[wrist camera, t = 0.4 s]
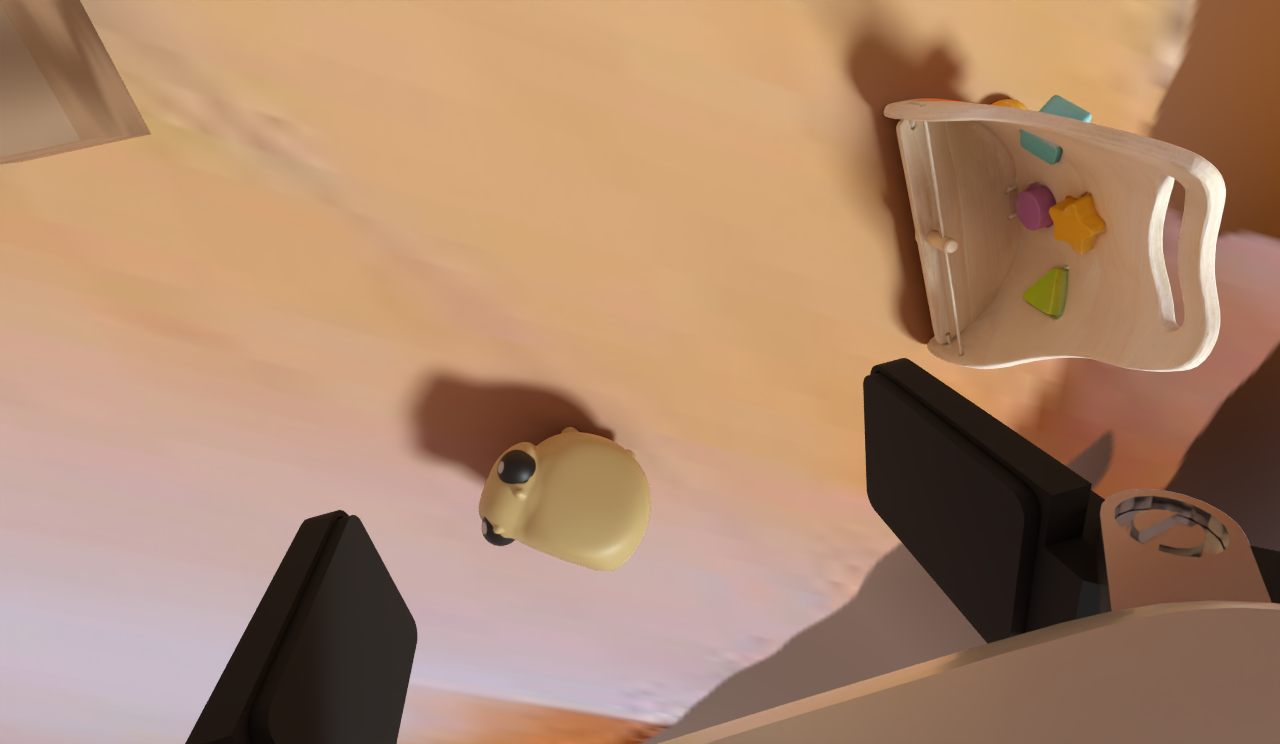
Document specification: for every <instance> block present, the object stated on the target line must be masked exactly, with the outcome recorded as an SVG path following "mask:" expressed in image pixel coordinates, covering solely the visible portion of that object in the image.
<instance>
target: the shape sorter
mask: <svg viewBox="0 0 1280 744" xmlns="http://www.w3.org/2000/svg"><path fill="white" fill-rule="evenodd" d="M884 116H886V117H888V118H894V119H902V120H900V121H899V122H898V124H897V127H896V132H897V137H898V143H899V148H900V153H901V159H902V163H903V169H904V174H905V179H906V184H907V189H908V194H909V200H910V205H911V211H912V216H913V221H914V226H915V232H916V233H915V240H916V241H917V244H918V249H919V254H920V260H921V265H922V271H923V276H924V282H925V287H926V293H927V298H928V304H929V309H930V315H931V320H932V326H933V331H934V335H935V336H934V337H933V338H931V339H930V341H929V342H928V344H927V348H928V350H929V351H930V352H931V353H932V354H933V355H935V356H936V357H938V358H940V359H942V360H944V361H947V362H950V363H953V364H956V365H960V366H965V367H970V368H976V369H993V368H1002V367H1008V366H1013V365H1017V364H1021V363H1026V362H1031V361H1037V360H1043V359H1051V358H1066V357H1077V358H1089V359H1094V360H1098V361H1102V362H1105V363H1108V364H1112V365H1115V366H1119V367H1123V368H1128V369H1136V370H1144V371H1156V372H1169V371H1183V370H1189V369H1192V368H1194V367H1197V366H1198V365H1200V364H1201V363H1202V362H1203V361H1204V360H1205V359H1206V358H1207V357H1208V355H1209V354H1210V353H1211V351H1212V349H1213V347H1214V345H1215V343H1216V340H1217V338H1218V334H1219V329H1220V308H1219V301H1218V295H1217V289H1216V281H1215V266H1214V265H1215V249H1216V241H1217V236H1218V231H1219V226H1220V222H1221V217H1222V213H1223V208H1224V203H1225V196H1226V188H1225V183H1224V180H1223V178H1222V176H1221V174H1220V173H1219V171H1218V170H1217V169H1216V168H1215V167H1214V166H1213V165H1212V164H1211V163H1210V162H1208V161H1207V160H1206V159H1204V158H1203V157H1201V156H1200V155H1198V154H1196V153H1194V152H1191V151H1189V150H1186V149H1184V148H1181V147H1178V146H1175V145H1172V144H1169V143H1166V142H1163V141H1160V140H1156V139H1153V138H1149V137H1146V136H1142V135H1138V134H1134V133H1130V132H1126V131H1122V130H1118V129H1114V128H1109V127H1105V126H1100V125H1096V124H1092V123H1090V120H1091V117H1092V115H1091V114H1090V113H1089V112H1087V111H1085V110H1084V109H1082V108H1080V107H1078V106H1076V105H1075V104H1073V103H1071V102H1069V101H1067V100H1066V99H1064V98H1062V97H1060V96H1058V95H1054V96H1053V97H1052V98H1051V99H1050V100H1049V101H1048V102H1047V103H1046V104H1045V105H1044V106H1043V107H1042V109H1041V110H1040V111H1039V112H1037V111H1031V110H1028V108H1027V107H1026V106H1025V105H1024V104H1022V103H1021V102H1019V101H1017V100H1013V99H1004V100H999V101H997V102H995V103H992V104H991V105H988V104H979V103H970V102H962V101H954V100H945V99H933V98H923V99H912V100H906V101H900V102H894V103H891V104H888V105H887V106H886V107H885V109H884ZM1174 179H1176V180H1177V181H1179V182H1180V183H1181V184H1182V185H1183V187H1184V188H1185V191H1186V196H1185V209H1184V214H1183V219H1182V224H1181V230H1180V235H1179V241H1178V273H1179V281H1180V286H1181V291H1182V296H1183V303H1184V310H1185V319H1184V323H1183V325H1182V326H1181V327H1179V326H1178V325H1177V324H1176V321H1175V315H1174V305H1173V299H1172V293H1171V287H1170V283H1169V279H1168V275H1167V271H1166V267H1165V262H1164V256H1163V244H1162V237H1163V225H1164V219H1165V214H1166V210H1167V206H1168V202H1169V198H1170V195H1171V191H1172V188H1173V184H1174Z"/></svg>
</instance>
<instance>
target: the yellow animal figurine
mask: <svg viewBox="0 0 1280 744" xmlns="http://www.w3.org/2000/svg"><path fill="white" fill-rule="evenodd" d="M650 509H651V495H650V488H649V484H648V481H647V478H646V476H645V473H644V471H643V470H642V468H641V466H640V465H639V463H638V462H637V461H636V456H635V454H634V453H633V452H632V451H631V450H625V449H624V448H623V447H621V446H620V445H618V444H617V443H615V442H613V441H611V440H609V439H607V438H604V437H602V436H598V435H594V434H589V433H582V432H578V431H577V430H576V429H575V428H573V427H567V428H565V429H563V430H562V432H561V434H557V435H554V436H552V437H549V438H547V439H545V440H544V441H542V442H541V443H539V444H538V445H537V446H535V445H533V444H532V443H530V442H521V443H518V444H516V445H514V446H512V447H510V448H509V449H507V450H506V451H505V452H504V453H503V454H502V455H501V456H500V457H499V458H498V459H497V461H496V462H495V464H494V466H493V468H492V470H491V472H490V474H489V476H488V478H487V481H486V483H485V486H484V489H483V492H482V495H481V499H480V504H479V514H480V517H481V519H482V533H483V536H484V537H485V539H486V540H487V541H488V542H490V543H491V544H493V545H497V546H504V545H508V544H510V543H512V542H513V541H514V540H517V541H520V542H521V543H523V544H525V545H527V546H529V547H531V548H534V549H536V550H539V551H541V552H543V553H546V554H548V555H551V556H553V557H556V558H559V559H562V560H564V561H567V562H570V563H574V564H577V565H580V566H583V567H586V568H590V569H593V570H598V571H611V570H614V569H617V568H618V567H620V566H621V565H623V564H624V563H625V562H626V561H627V560H628V559H629V558H630V556H631V555H632V554H633V553H634V551H635V550H636V548H637V547H638V545H639V543H640V542H641V540H642V538H643V535H644V533H645V530H646V528H647V524H648V521H649V516H650Z"/></svg>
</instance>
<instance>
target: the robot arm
mask: <svg viewBox="0 0 1280 744" xmlns="http://www.w3.org/2000/svg"><path fill="white" fill-rule="evenodd" d="M863 390H864V420H865V450H866V479H867V494H868V498H869V501H870V503H871V505H872V507H873V508H874V510H875V511H876V512H877V513H878V515H879V516H880V517H881V518H882V519H883V521H884V522H885V523H886V524H887V525H888V526H889V528H890V529H891V530H892V531H893V532H894V534H895V535H896V536H897V537H898V538H899V539H900V541H901V542H902V543H903V544H904V545H905V547H906V548H907V549H908V550H909V551H910V552H911V553H912V555H913V556H914V557H915V558H916V559H917V561H918V562H919V563H920V564H921V565H922V567H923V568H924V569H925V570H926V571H927V572H928V574H929V575H930V576H931V577H932V578H933V579H934V581H935V582H936V583H937V584H938V585H939V587H940V588H941V589H942V590H943V591H944V593H945V594H946V595H947V596H948V597H949V598H950V600H951V601H952V602H953V603H954V604H955V606H956V607H957V608H958V609H959V610H960V611H961V613H962V614H963V615H964V616H965V617H966V619H967V620H968V621H969V622H970V623H971V624H972V626H973V627H974V628H975V629H976V630H977V632H978V633H979V634H980V635H981V636H982V637H983V639H984V640H985V641H986V642H987V643H988V644H985V645H981V646H978V647H975V648H971V649H968V650H964V651H960V652H957V653H953V654H950V655H947V656H944V657H940V658H937V659H934V660H931V661H927V662H924V663H921V664H917V665H914V666H911V667H907V668H904V669H901V670H897V671H894V672H891V673H887V674H884V675H881V676H877V677H874V678H871V679H868V680H864V681H861V682H857V683H854V684H851V685H848V686H844V687H841V688H838V689H834V690H831V691H828V692H824V693H821V694H818V695H815V696H811V697H808V698H805V699H802V700H798V701H795V702H791V703H788V704H785V705H782V706H778V707H775V708H772V709H769V710H765V711H762V712H759V713H756V714H752V715H749V716H746V717H743V718H739V719H736V720H733V721H730V722H726V723H723V724H720V725H716V726H713V727H710V728H707V729H703V730H700V731H697V732H694V733H691V734H687V735H684V736H681V737H678V738H674V739H671V740H668V741H665V742H662V743H658V744H1280V552H1279V551H1274V550H1269V549H1264V548H1258V547H1254V546H1250V544H1249V542H1248V539H1247V537H1246V535H1245V534H1244V532H1243V531H1242V529H1241V528H1240V526H1239V525H1238V524H1237V523H1236V522H1235V521H1234V520H1232V519H1231V518H1230V517H1229V516H1227V515H1226V514H1225V513H1224V512H1222V511H1220V510H1218V509H1216V508H1214V507H1213V506H1211V505H1209V504H1207V503H1205V502H1203V501H1200V500H1197V499H1194V498H1191V497H1189V496H1186V495H1182V494H1178V493H1173V492H1169V491H1164V490H1154V489H1134V490H1125V491H1121V492H1118V493H1116V494H1113V495H1111V496H1109V497H1108V498H1107V499H1106V500H1105V499H1103V498H1102V497H1100V496H1099V495H1097V494H1096V493H1094V492H1093V491H1092V490H1091V485H1092V484H1091V483H1090V482H1088V481H1087V480H1085V479H1084V478H1082V477H1081V476H1079V475H1078V474H1076V473H1075V472H1073V471H1072V470H1070V469H1069V468H1068V467H1066V466H1065V465H1063V464H1062V463H1060V462H1059V461H1057V460H1056V459H1054V458H1053V457H1051V456H1050V455H1049V454H1047V453H1046V452H1044V451H1043V450H1041V449H1040V448H1038V447H1037V446H1035V445H1034V444H1032V443H1031V442H1029V441H1028V440H1026V439H1025V438H1024V437H1022V436H1021V435H1019V434H1018V433H1016V432H1015V431H1013V430H1012V429H1010V428H1009V427H1007V426H1006V425H1004V424H1003V423H1002V422H1000V421H999V420H997V419H996V418H994V417H993V416H991V415H990V414H988V413H987V412H985V411H984V410H982V409H981V408H979V407H978V406H977V405H975V404H974V403H972V402H971V401H969V400H968V399H966V398H965V397H963V396H962V395H960V394H959V393H957V392H956V391H954V390H953V389H952V388H950V387H949V386H947V385H946V384H944V383H943V382H941V381H940V380H938V379H937V378H935V377H934V376H932V375H931V374H930V373H928V372H927V371H925V370H924V369H922V368H921V367H919V366H918V365H916V364H915V363H913V362H912V361H910V360H909V359H906V358H901V359H898V360H894V361H890V362H887V363H883V364H879V365H875V366H874V367H873V368H872V370H871V374H870V375H868V376H866V377H865V378H864V382H863ZM416 644H417V628H416V624H415V621H414V619H413V617H412V615H411V613H410V611H409V609H408V607H407V606H406V604H405V602H404V600H403V598H402V596H401V594H400V593H399V591H398V589H397V587H396V585H395V583H394V581H393V580H392V578H391V576H390V574H389V572H388V570H387V568H386V567H385V565H384V563H383V561H382V559H381V557H380V555H379V554H378V552H377V550H376V548H375V546H374V544H373V542H372V541H371V539H370V537H369V535H368V533H367V531H366V529H365V528H364V526H363V524H362V522H361V520H360V519H359V518H358V517H357V516H356V515H351V516H348V514H347V513H345V512H344V511H342V510H338V511H334V512H330V513H327V514H323V515H319V516H316V517H312V518H308V519H306V520H305V521H304V522H303V523H302V524H301V526H300V528H299V530H298V532H297V534H296V536H295V538H294V539H293V541H292V543H291V545H290V547H289V549H288V551H287V553H286V555H285V556H284V558H283V560H282V562H281V564H280V566H279V568H278V570H277V572H276V573H275V575H274V577H273V579H272V581H271V583H270V585H269V587H268V589H267V590H266V592H265V594H264V596H263V598H262V600H261V602H260V604H259V606H258V607H257V609H256V611H255V613H254V615H253V617H252V619H251V621H250V622H249V624H248V626H247V628H246V630H245V632H244V634H243V636H242V638H241V639H240V641H239V643H238V645H237V647H236V649H235V651H234V653H233V655H232V656H231V658H230V660H229V662H228V664H227V666H226V668H225V670H224V672H223V673H222V675H221V677H220V679H219V681H218V683H217V685H216V687H215V689H214V690H213V692H212V694H211V696H210V698H209V700H208V702H207V704H206V705H205V707H204V709H203V711H202V713H201V715H200V717H199V719H198V721H197V722H196V724H195V726H194V728H193V730H192V732H191V734H190V736H189V738H188V739H187V741H186V743H185V744H396V743H397V738H398V733H399V728H400V723H401V718H402V713H403V708H404V703H405V698H406V693H407V688H408V683H409V679H410V674H411V669H412V664H413V659H414V654H415V649H416Z"/></svg>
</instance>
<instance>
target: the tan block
mask: <svg viewBox="0 0 1280 744" xmlns="http://www.w3.org/2000/svg"><path fill="white" fill-rule="evenodd" d="M149 134H151V133H150V131H149V129H148V128H147V126H146V124H145V122H144V120H143V118H142V116H141V114H140V112H139V111H138V109H137V107H136V105H135V103H134V101H133V99H132V97H131V96H130V94H129V92H128V90H127V88H126V86H125V84H124V82H123V81H122V79H121V77H120V75H119V73H118V71H117V69H116V67H115V66H114V64H113V62H112V60H111V58H110V56H109V54H108V52H107V51H106V49H105V47H104V45H103V43H102V41H101V39H100V37H99V36H98V34H97V32H96V30H95V28H94V26H93V24H92V22H91V21H90V19H89V17H88V15H87V13H86V11H85V9H84V7H83V5H82V4H81V2H80V0H0V164H7V163H16V162H23V161H28V160H33V159H37V158H42V157H47V156H51V155H56V154H60V153H65V152H70V151H74V150H79V149H84V148H88V147H93V146H98V145H102V144H107V143H111V142H116V141H121V140H125V139H130V138H135V137H139V136H144V135H149Z"/></svg>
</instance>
